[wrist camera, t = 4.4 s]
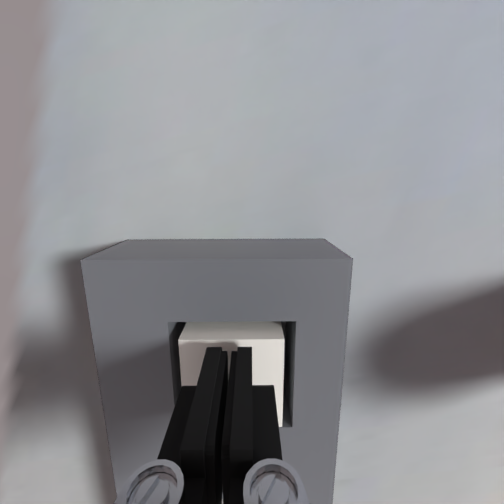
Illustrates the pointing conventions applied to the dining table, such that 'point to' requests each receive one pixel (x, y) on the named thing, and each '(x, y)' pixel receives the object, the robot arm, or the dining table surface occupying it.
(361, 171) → the dining table surface
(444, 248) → the dining table surface
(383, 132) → the dining table surface
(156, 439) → the switch console
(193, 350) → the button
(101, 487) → the dining table surface
